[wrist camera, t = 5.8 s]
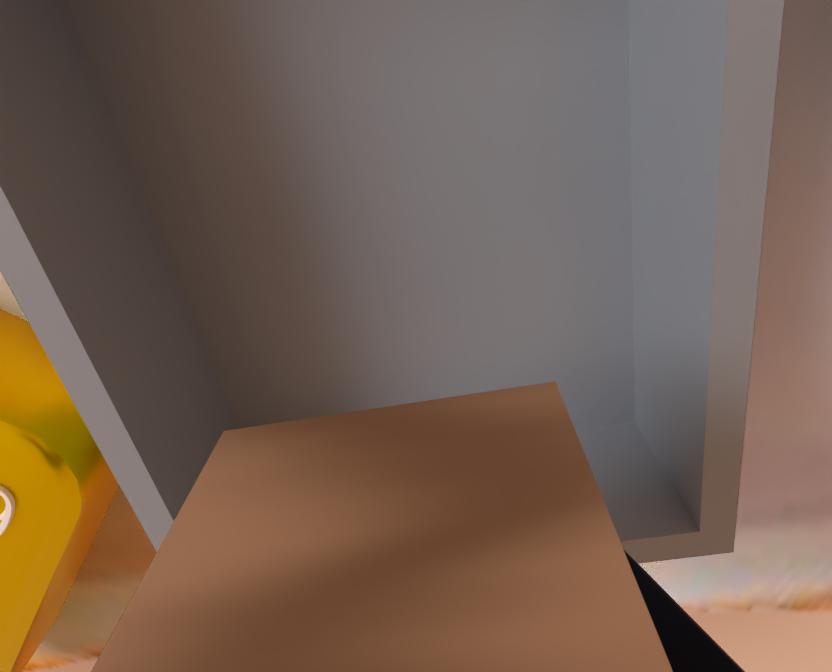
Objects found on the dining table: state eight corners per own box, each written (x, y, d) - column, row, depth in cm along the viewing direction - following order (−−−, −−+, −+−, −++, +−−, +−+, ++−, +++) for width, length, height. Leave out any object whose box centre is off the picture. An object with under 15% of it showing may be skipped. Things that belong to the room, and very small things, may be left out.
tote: (656, -370, 10) (852, -735, 5) (654, 426, 17) (733, 551, 13) (-32, -180, 11) (-339, -342, 7) (247, 484, 19) (191, 616, 14)
